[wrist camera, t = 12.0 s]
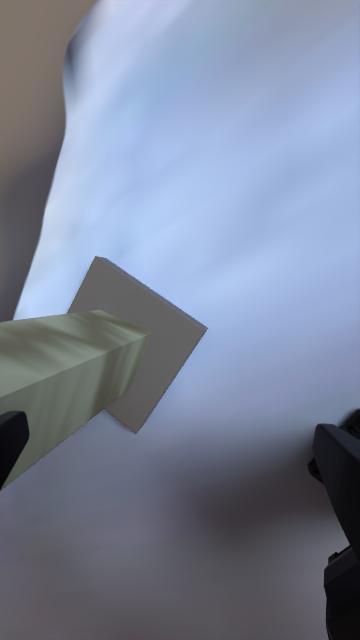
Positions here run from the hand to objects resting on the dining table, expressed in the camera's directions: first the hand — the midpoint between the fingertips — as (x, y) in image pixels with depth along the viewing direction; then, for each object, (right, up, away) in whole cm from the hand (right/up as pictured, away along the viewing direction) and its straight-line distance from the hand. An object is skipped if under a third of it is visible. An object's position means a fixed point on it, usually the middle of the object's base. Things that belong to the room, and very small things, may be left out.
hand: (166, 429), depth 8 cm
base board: (-5, +1, +15) cm, 16 cm away
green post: (-5, +1, +14) cm, 15 cm away
